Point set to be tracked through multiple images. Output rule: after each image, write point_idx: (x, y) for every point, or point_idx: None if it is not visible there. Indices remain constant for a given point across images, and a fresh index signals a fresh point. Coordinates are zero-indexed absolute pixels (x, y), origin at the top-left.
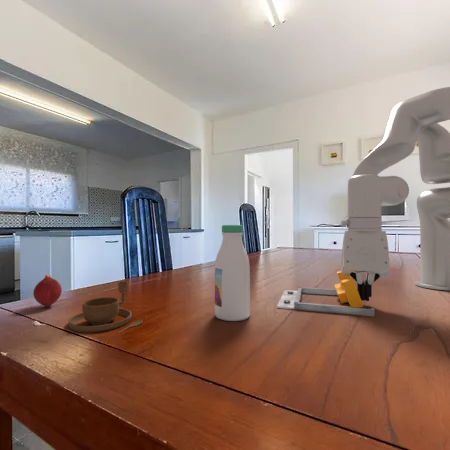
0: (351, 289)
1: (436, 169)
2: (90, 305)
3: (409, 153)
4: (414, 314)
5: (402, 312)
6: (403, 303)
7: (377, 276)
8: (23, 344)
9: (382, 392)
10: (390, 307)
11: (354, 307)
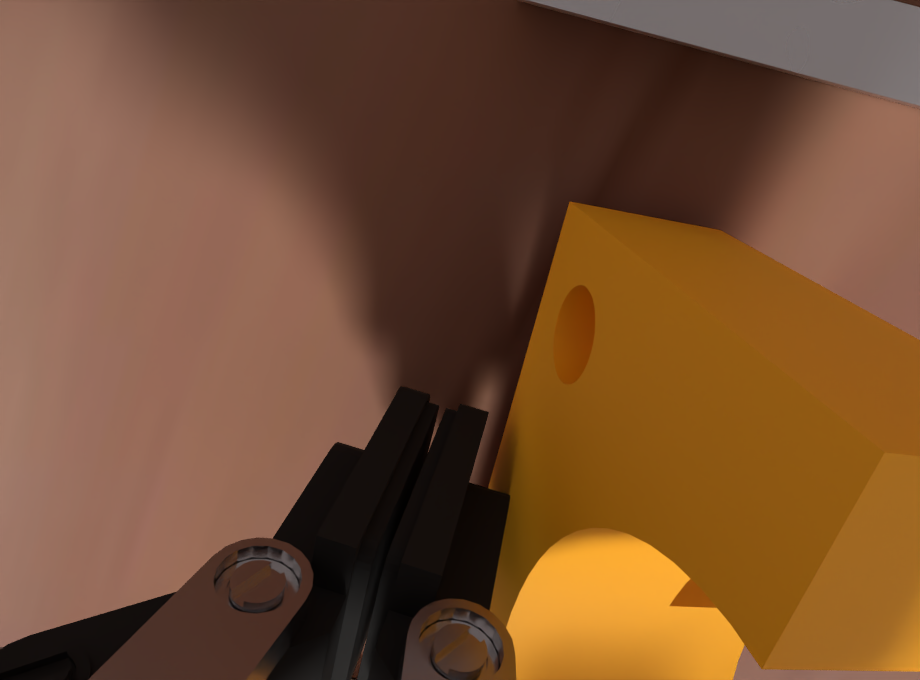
0: (825, 336)
1: None
2: None
3: None
4: (4, 79)
5: (111, 155)
6: (21, 470)
7: (36, 664)
8: None
9: None
10: (182, 346)
11: (821, 24)
